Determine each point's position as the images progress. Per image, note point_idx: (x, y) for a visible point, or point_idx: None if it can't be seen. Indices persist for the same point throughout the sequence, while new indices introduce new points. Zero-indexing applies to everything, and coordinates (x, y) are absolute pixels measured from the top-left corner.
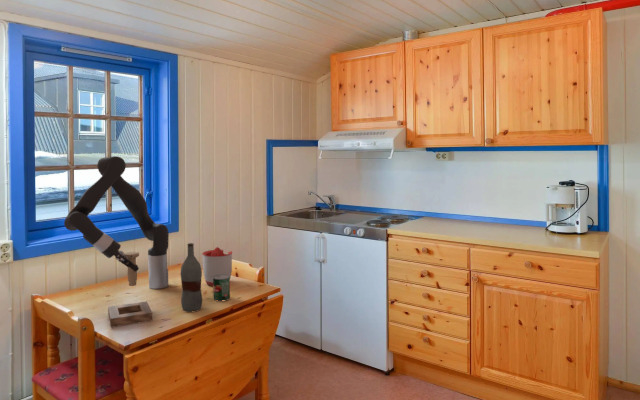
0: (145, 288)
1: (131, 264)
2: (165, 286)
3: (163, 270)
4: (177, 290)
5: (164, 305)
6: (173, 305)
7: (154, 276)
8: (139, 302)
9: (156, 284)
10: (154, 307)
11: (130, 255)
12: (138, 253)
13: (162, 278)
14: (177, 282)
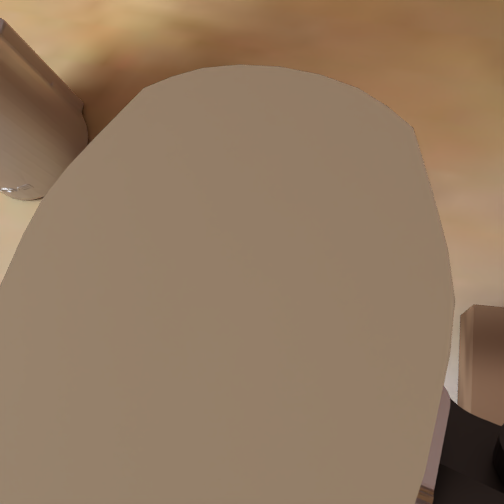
0: (25, 224)
1: (460, 421)
2: (81, 116)
3: (7, 50)
4: (181, 72)
5: (442, 194)
6: (474, 144)
7: (14, 134)
8: (475, 366)
9: (61, 154)
10: (452, 262)
11: (422, 443)
12: (365, 97)
13: (48, 97)
14: (43, 49)
